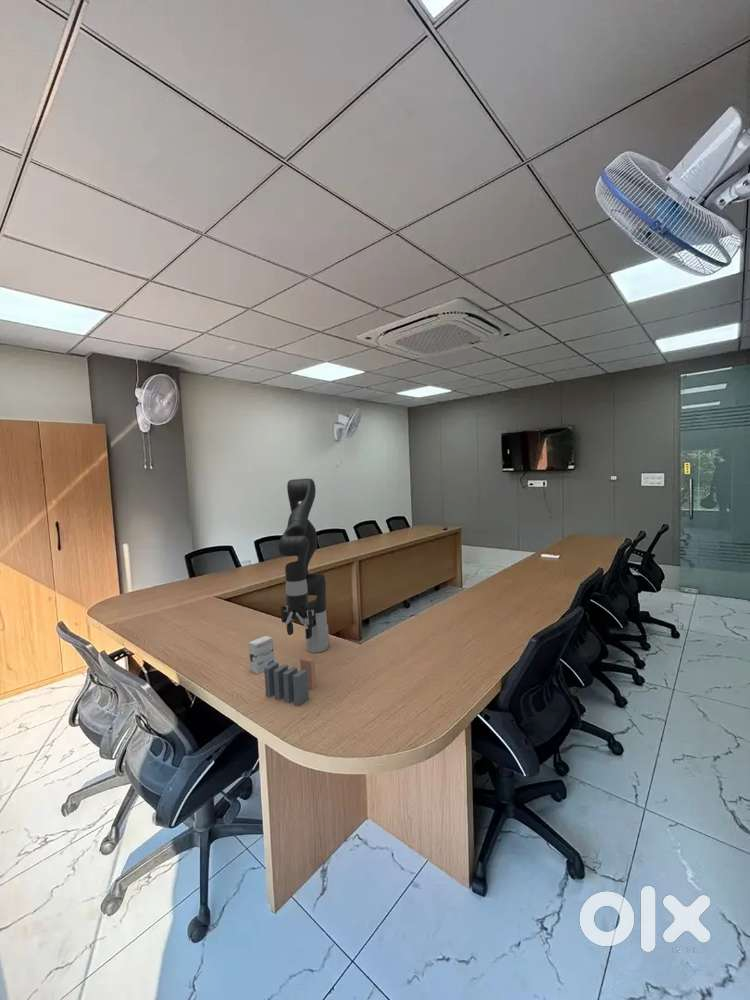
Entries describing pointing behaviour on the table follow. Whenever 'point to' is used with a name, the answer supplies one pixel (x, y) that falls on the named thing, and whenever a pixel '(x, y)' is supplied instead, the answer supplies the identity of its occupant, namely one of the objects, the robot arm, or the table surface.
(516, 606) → the table surface
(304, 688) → the domino
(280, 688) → the domino
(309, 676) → the domino
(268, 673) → the domino
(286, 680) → the domino
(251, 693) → the table surface
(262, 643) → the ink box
